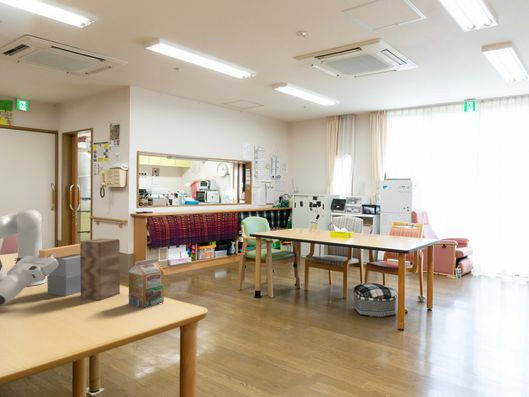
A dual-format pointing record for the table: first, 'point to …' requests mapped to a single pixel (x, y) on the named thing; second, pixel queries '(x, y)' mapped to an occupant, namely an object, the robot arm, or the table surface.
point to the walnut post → (100, 268)
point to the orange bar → (60, 251)
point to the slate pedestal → (65, 276)
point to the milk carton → (146, 284)
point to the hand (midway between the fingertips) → (50, 253)
